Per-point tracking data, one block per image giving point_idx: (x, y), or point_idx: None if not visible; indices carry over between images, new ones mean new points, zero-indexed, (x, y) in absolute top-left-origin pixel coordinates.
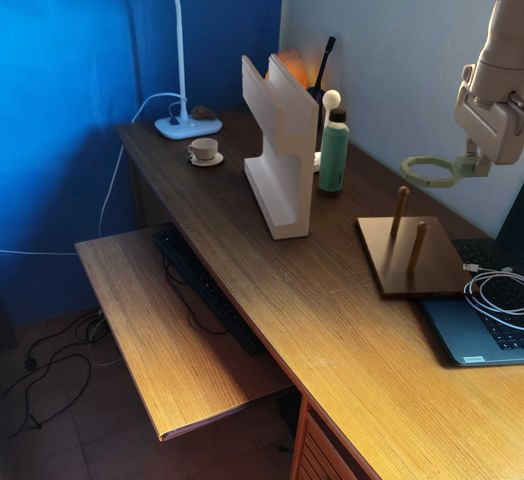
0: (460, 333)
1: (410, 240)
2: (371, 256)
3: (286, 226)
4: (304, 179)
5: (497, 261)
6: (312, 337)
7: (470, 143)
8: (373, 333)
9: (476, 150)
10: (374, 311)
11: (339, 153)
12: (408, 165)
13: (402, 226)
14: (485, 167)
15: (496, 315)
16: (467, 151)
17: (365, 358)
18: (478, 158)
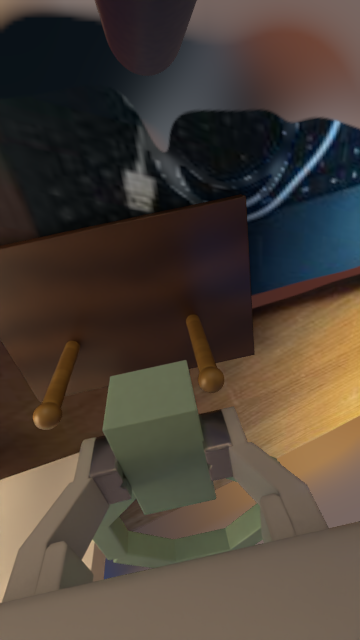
0: (334, 243)
1: (89, 318)
2: None
3: None
4: (101, 556)
5: (96, 109)
6: (315, 409)
7: (77, 545)
8: (317, 355)
9: (87, 485)
10: (276, 356)
11: None
12: (166, 550)
13: (38, 331)
14: (242, 433)
15: (297, 164)
16: (105, 506)
17: (357, 361)
18: (144, 456)
